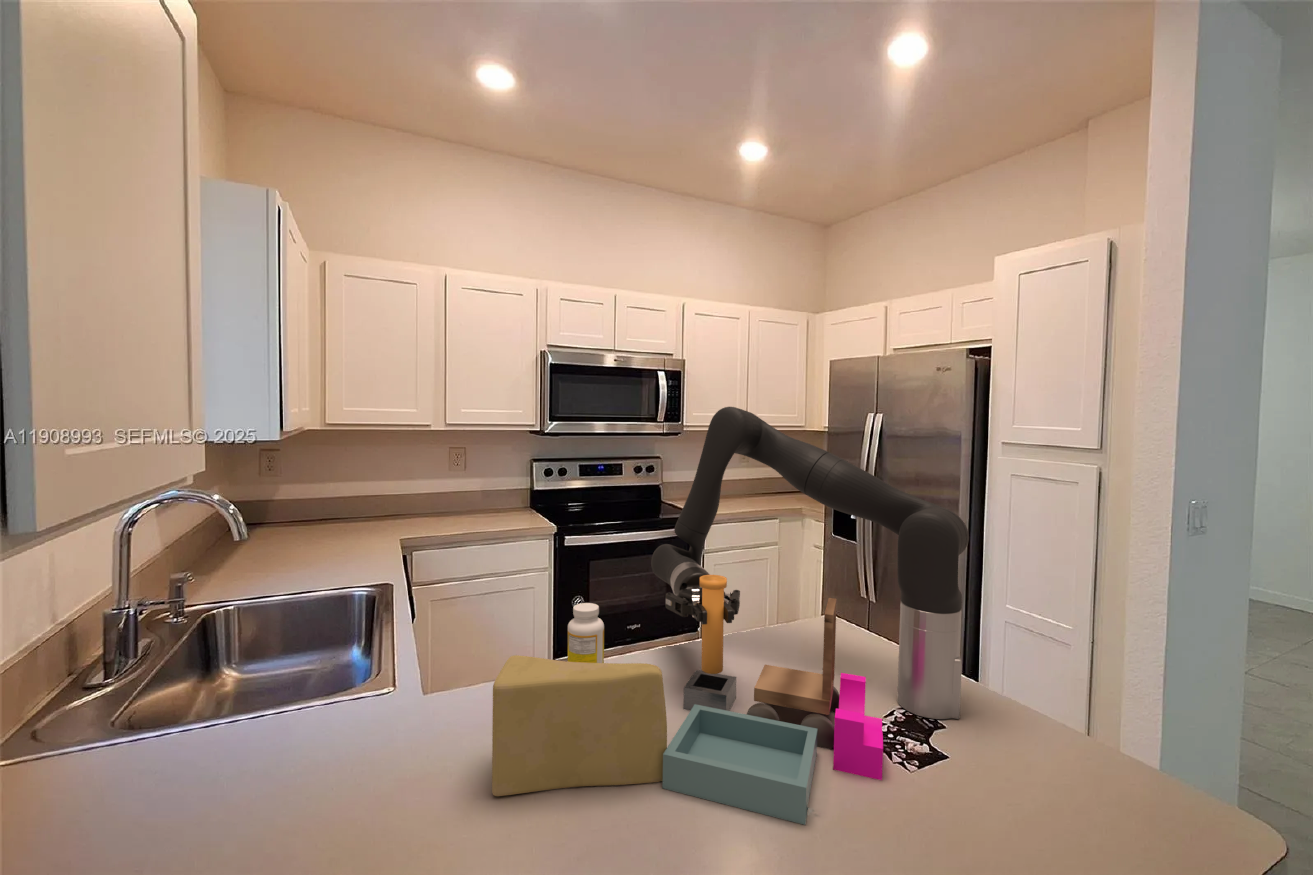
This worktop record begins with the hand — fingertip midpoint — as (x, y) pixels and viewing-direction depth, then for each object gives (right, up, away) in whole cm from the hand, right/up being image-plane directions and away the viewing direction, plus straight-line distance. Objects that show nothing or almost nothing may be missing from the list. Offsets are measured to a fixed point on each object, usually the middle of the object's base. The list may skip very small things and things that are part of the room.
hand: (717, 617), depth 92 cm
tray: (+2, -17, -14) cm, 22 cm away
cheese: (-19, -17, -15) cm, 30 cm away
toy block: (+20, -17, -6) cm, 27 cm away
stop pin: (-1, -9, +3) cm, 10 cm away
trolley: (+12, -16, -1) cm, 20 cm away
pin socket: (-1, -16, +4) cm, 16 cm away
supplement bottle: (-23, -15, +15) cm, 31 cm away
